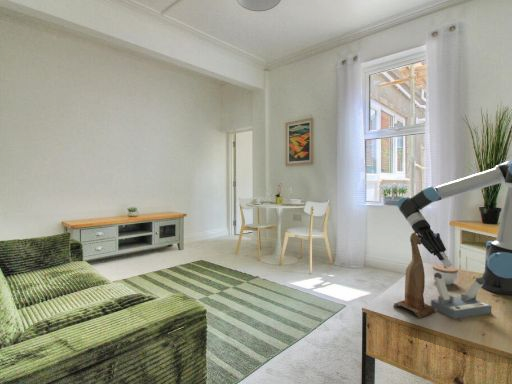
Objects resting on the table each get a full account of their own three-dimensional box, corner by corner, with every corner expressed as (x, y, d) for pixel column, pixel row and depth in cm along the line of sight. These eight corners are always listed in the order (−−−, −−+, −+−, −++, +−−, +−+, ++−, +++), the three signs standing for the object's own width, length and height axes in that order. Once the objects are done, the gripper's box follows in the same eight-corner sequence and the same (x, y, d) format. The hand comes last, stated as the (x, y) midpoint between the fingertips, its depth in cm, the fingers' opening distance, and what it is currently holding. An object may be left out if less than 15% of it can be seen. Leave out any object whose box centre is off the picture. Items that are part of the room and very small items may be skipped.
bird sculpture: (436, 313, 110) (440, 233, 109) (419, 319, 104) (423, 235, 103) (408, 302, 120) (412, 229, 119) (392, 307, 114) (395, 231, 113)
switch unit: (431, 307, 115) (431, 293, 114) (466, 302, 119) (466, 289, 119) (453, 319, 105) (454, 304, 105) (491, 313, 110) (491, 299, 110)
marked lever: (461, 296, 116) (475, 276, 111) (468, 295, 117) (482, 275, 111) (467, 301, 114) (481, 281, 108) (474, 300, 115) (488, 280, 109)
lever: (440, 302, 112) (430, 273, 117) (447, 301, 113) (437, 272, 118) (445, 302, 110) (436, 272, 114) (452, 301, 111) (443, 272, 115)
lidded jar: (461, 287, 136) (462, 268, 135) (437, 285, 138) (438, 267, 137) (450, 279, 146) (451, 262, 146) (428, 277, 148) (429, 260, 148)
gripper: (424, 227, 143) (454, 268, 128) (403, 228, 140) (431, 271, 124) (433, 218, 138) (466, 260, 122) (412, 219, 134) (442, 263, 119)
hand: (448, 266), depth 123 cm, fingers closed
